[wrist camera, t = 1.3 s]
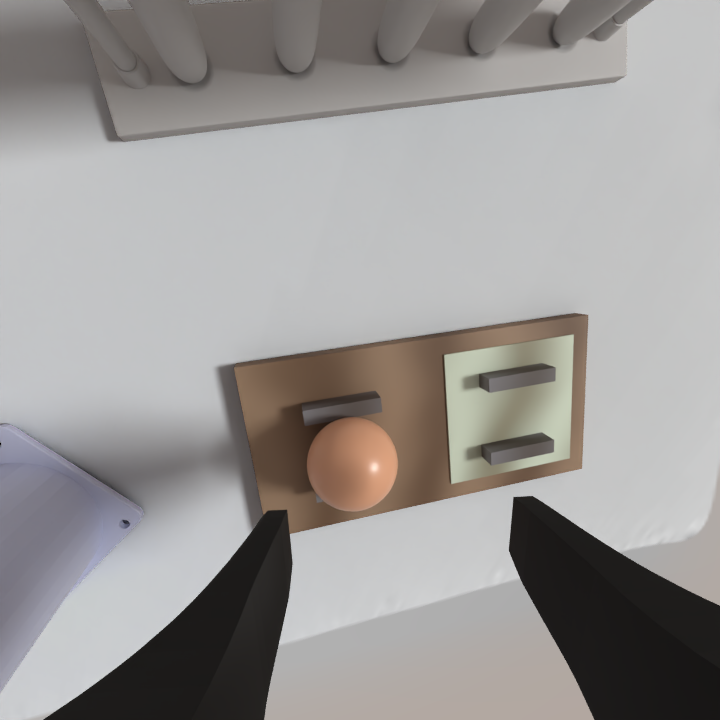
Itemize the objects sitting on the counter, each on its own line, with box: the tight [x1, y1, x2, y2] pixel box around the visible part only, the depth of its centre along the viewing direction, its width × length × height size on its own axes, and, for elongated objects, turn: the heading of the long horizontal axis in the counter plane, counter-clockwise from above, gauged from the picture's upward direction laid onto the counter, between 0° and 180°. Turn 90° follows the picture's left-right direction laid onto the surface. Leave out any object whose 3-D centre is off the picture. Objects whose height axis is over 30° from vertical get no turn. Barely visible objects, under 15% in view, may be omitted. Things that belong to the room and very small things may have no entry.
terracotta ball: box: [307, 417, 398, 512], centre depth 18 cm, size 4×4×4 cm
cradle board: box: [234, 313, 588, 534], centre depth 21 cm, size 20×10×2 cm, turn 96°
